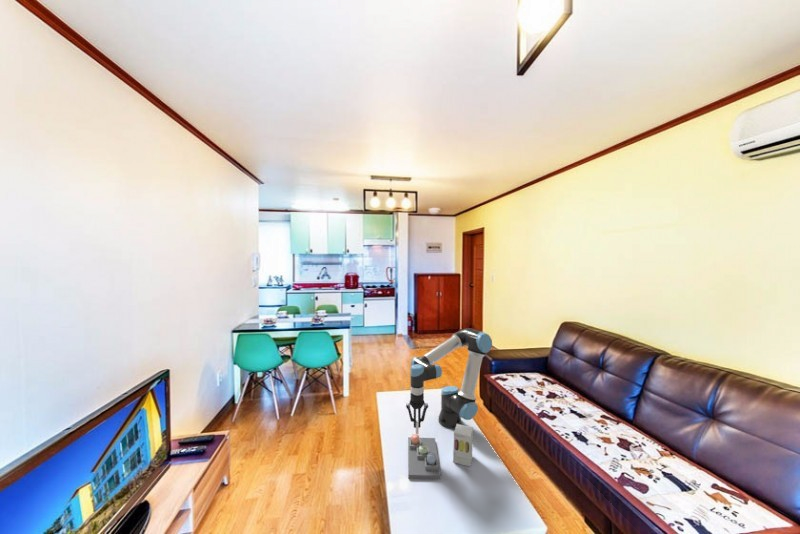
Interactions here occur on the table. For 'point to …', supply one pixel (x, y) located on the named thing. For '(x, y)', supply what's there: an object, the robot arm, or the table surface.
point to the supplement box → (463, 445)
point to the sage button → (422, 450)
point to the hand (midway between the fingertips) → (417, 432)
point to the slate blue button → (431, 458)
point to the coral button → (415, 439)
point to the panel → (422, 460)
